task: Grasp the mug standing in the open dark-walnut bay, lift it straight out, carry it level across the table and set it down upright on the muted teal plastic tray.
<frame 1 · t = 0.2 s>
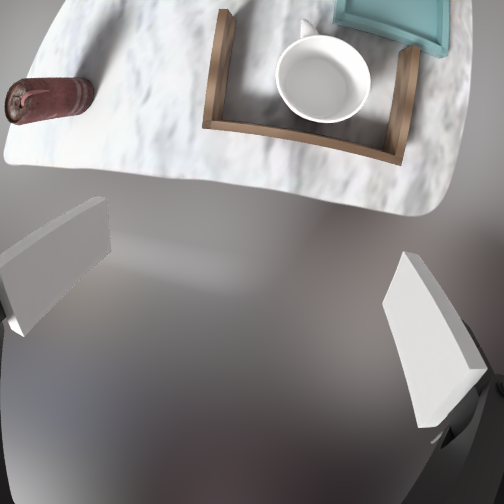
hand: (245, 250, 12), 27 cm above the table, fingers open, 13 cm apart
bay: (312, 82, 31), on the table
can: (82, 95, 35), on the table
mug: (313, 75, 31), on the table
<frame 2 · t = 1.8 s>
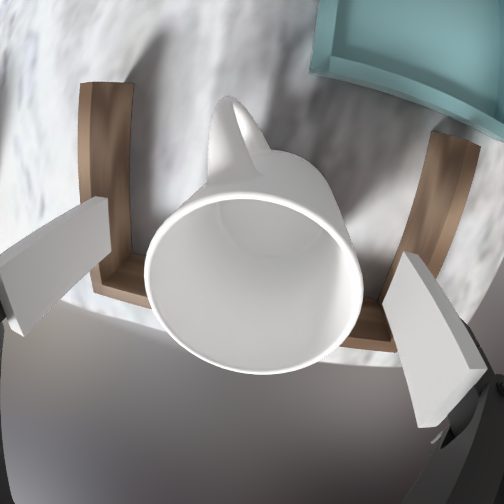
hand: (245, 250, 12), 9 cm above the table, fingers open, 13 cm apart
bay: (264, 199, 20), on the table
mug: (267, 184, 20), on the table
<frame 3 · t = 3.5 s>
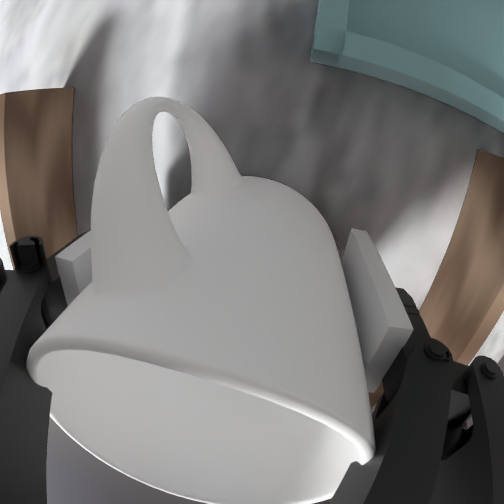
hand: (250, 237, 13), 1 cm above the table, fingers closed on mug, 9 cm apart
bay: (246, 244, 14), on the table
mug: (242, 223, 14), on the table, touching gripper
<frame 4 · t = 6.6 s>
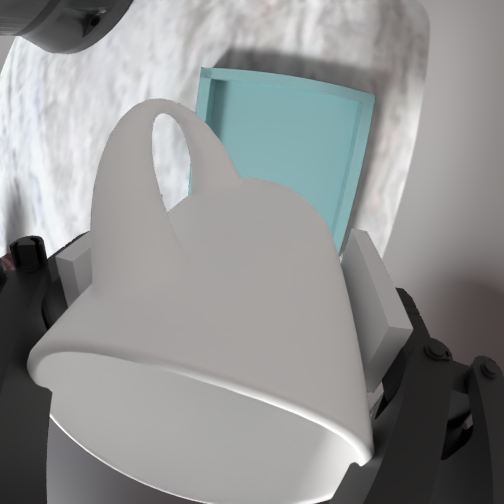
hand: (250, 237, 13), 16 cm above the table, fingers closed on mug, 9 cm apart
tray: (274, 170, 27), on the table
can: (16, 266, 40), on the table
mug: (242, 224, 14), point 15 cm above the table, touching gripper
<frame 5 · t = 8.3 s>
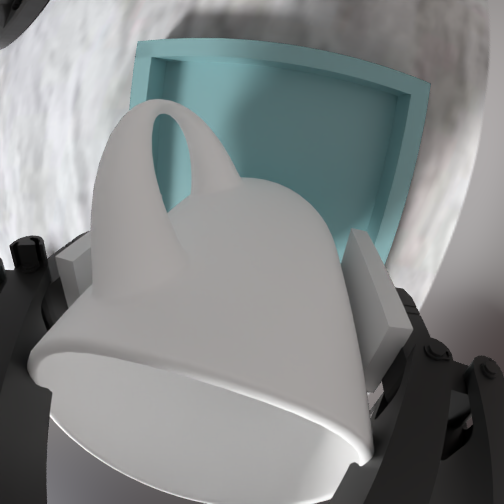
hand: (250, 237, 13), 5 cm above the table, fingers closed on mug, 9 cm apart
tray: (261, 202, 17), on the table
mug: (242, 224, 14), point 4 cm above the table, touching gripper
when the fingers open (3 cm above the table, at t = 9.7 s): mug drops 1 cm, resting on tray.
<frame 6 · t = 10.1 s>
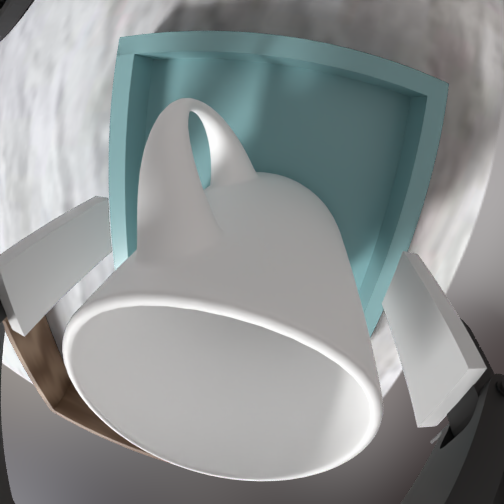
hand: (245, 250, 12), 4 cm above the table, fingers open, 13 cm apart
tray: (258, 216, 16), on the table
bay: (137, 379, 25), on the table
mug: (254, 216, 15), resting on tray
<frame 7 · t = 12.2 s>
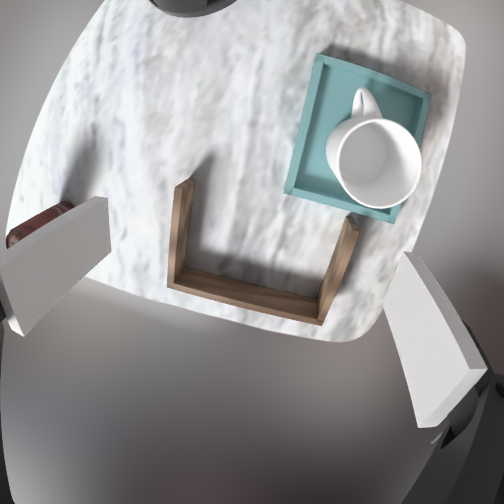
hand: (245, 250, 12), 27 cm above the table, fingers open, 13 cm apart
tray: (357, 138, 33), on the table
bay: (259, 246, 42), on the table
can: (69, 216, 45), on the table
mug: (356, 137, 33), resting on tray
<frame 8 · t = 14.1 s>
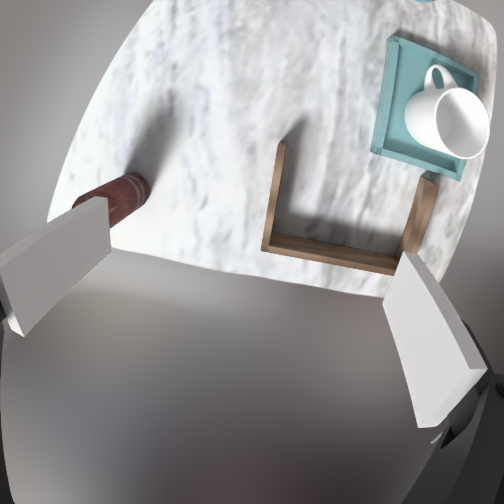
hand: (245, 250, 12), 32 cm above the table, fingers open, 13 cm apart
tray: (425, 108, 33), on the table
bay: (346, 206, 42), on the table
can: (135, 189, 46), on the table
mug: (426, 107, 33), resting on tray
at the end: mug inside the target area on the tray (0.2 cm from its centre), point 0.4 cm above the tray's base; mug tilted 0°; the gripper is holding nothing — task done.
